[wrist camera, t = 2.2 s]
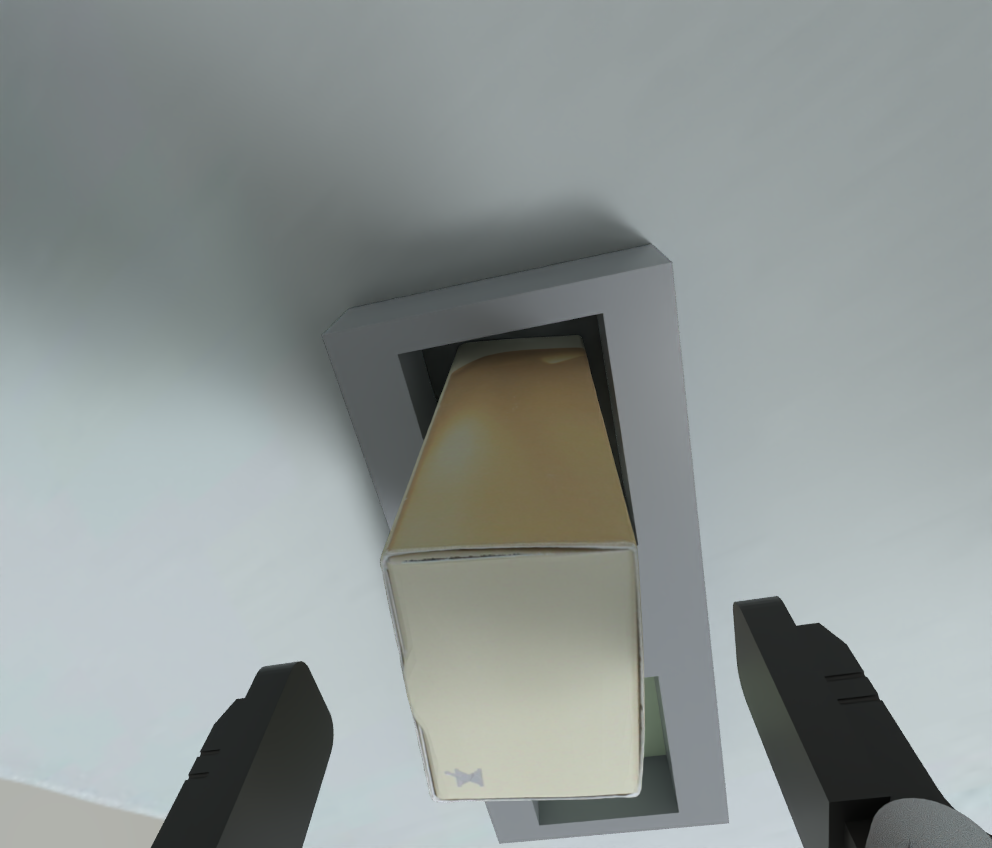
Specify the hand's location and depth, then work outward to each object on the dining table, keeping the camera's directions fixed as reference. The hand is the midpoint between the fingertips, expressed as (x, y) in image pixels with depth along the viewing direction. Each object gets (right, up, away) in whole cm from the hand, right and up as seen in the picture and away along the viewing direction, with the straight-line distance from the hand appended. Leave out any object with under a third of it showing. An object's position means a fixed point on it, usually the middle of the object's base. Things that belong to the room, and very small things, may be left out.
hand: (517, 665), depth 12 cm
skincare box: (+1, +5, +11) cm, 12 cm away
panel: (+2, -1, +13) cm, 14 cm away
